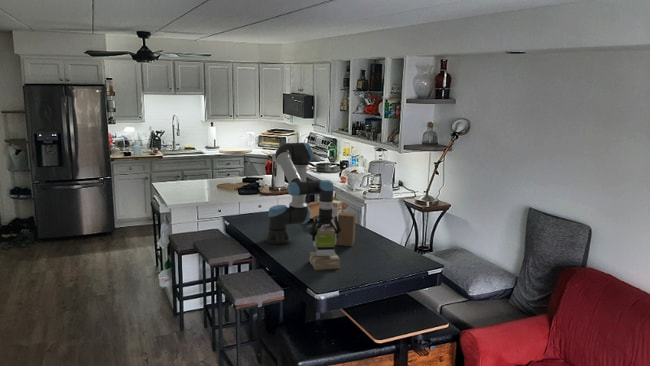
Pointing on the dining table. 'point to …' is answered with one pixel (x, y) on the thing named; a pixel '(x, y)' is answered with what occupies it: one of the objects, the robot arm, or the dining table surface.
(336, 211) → the coffeecake box
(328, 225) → the tea box
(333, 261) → the birch plinth
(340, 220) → the wooden block
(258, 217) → the dining table surface
